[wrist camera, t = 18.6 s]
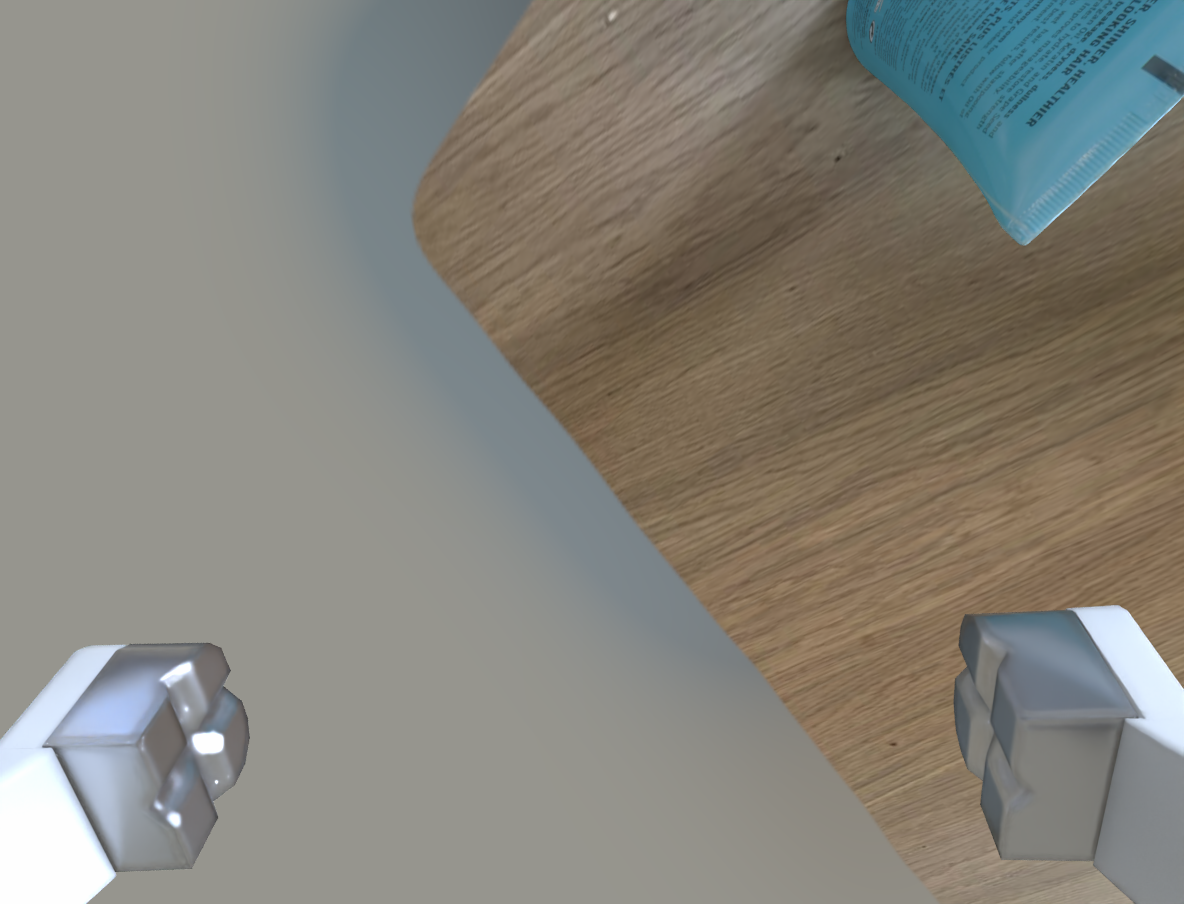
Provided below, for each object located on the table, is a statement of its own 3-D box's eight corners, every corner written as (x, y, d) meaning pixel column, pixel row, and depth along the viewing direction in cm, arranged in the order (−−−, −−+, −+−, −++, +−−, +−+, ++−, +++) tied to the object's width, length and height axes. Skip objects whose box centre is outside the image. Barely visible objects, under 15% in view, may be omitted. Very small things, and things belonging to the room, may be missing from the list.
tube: (900, 138, 35) (1121, 317, 18) (795, 63, 34) (926, 178, 17) (1047, -54, 32) (1483, -54, 15) (937, -143, 31) (1270, -251, 14)
